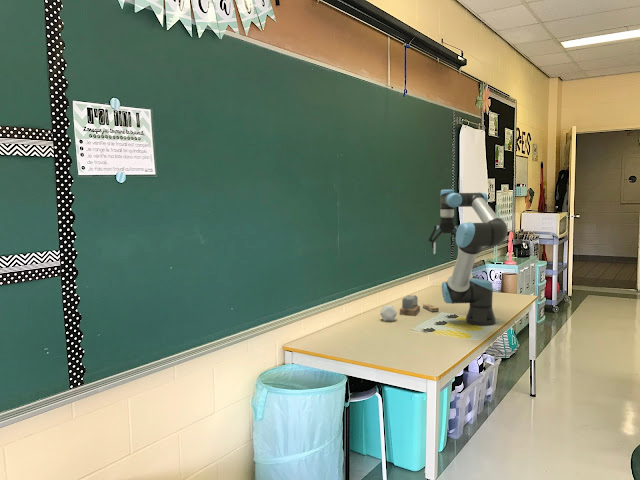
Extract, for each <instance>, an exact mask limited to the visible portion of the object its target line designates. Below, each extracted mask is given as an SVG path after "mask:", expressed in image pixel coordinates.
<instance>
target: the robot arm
mask: <svg viewBox="0 0 640 480" xmlns="http://www.w3.org/2000/svg"><path fill="white" fill-rule="evenodd" d="M439 197H440V209H439V210H440V212H439V213H440V215H439V216H440V221H439V225H434V226H433V230H432V233H431V234H430V237H429V238H428V241H429V242H431V249H433V255H435V254H436V253H437V252H436V251H437V245H436V244H437V242H436V240H437V239H439V237H440V236H441V235H442V234H451V235H453V237H454V238H455V243H456V246H457V258H456V260H455V264H454V268H453V271H452V274H451V275H450V276H449V277H448V278H447V281H442V282H441V293H442V298H443V301H444V303H445V304H451V305H454V304H469V308H468V310H467V314H466V316H465V321H466V323H468V324H471V325H475V326H476V325H477V326H491V325H495V324H496V317H495V312H494V310H493V291H494V289H493V288H494V287H493V283H492V281H490V280H487V279H483V278H477V277H471V274H472V270H473V268H474V264H475V261H476V258H477V256H478V254H480V253H481V252H482V250H483V248H486V247H489V248H492V247H493V248H494V247H498V246H500V245H501V244H502V243H503V242H504V241H505V240H506V239H507V236H508V231H509V229H508V226H507V223H506V222H505V221H504V219H502V218H501V217H498V215H497V214H496V213H495V211H494V210H493V208H492V207H491V206H490V205H489V204H488V202H489V197H488V194H487V193H486V192H455V190H454V189H441V190H440V195H439ZM457 207H458V208H461V207H466V208H469V207H470V208H472V209H473V210H474V212H475V213H476V215H477V216H478V218H479V219H480V221H481V222H463V223H460V224H459V225H455V218H454V217H455V208H457ZM438 229H439V230H440V231H439V232H438V233H437V234H436V232H437V230H438ZM454 230H456V231H454ZM435 234H436V235H435ZM470 277H471V278H470Z"/></svg>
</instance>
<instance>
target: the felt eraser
mask: <svg viewBox="0 0 640 480" xmlns="http://www.w3.org/2000/svg"><path fill="white" fill-rule="evenodd" d="M422 309H424V310H426V311H428V312H430V313H432V314H433V313H439V310H440V309H439V307H436V306H434V305H432V304H431V303H425V304H422Z"/></svg>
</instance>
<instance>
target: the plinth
mask: <svg viewBox="0 0 640 480" xmlns="http://www.w3.org/2000/svg"><path fill="white" fill-rule="evenodd" d="M420 312H421V306H420V305H418V306H417V307H415V308H414V309H403V308H402V307H401V308H400V309H399V315H401V316H413V317H416V316H417V315H418V314H419V313H420Z"/></svg>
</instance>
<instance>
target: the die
mask: <svg viewBox="0 0 640 480" xmlns="http://www.w3.org/2000/svg"><path fill="white" fill-rule="evenodd" d="M397 313H398V312H397V309H395V306H394V305H390V304H389V305H382V308H381V311H380V316H381V318H382V320H383V322H395V319H396V317H397Z"/></svg>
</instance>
